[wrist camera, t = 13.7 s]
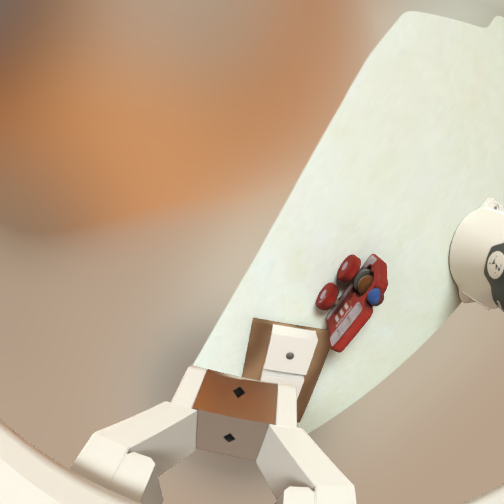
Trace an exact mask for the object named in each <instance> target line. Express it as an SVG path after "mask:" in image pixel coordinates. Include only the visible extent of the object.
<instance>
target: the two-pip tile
mask: <svg viewBox="0 0 504 504" xmlns="http://www.w3.org/2000/svg"><path fill="white" fill-rule="evenodd" d="M260 381H267V382H273V383H282V384H290V385H295V386H296V394H297V398H298V396H299V393H300V391H301V388H302V385H303V382H304V376H303V375H301V374H294V373H287V372H280V371H274V370H268V369H264V365H263V369H262V373H261V377H260Z"/></svg>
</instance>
